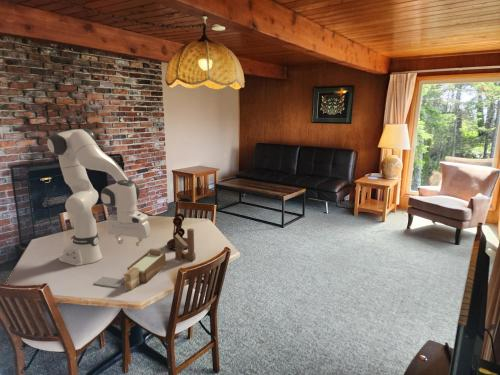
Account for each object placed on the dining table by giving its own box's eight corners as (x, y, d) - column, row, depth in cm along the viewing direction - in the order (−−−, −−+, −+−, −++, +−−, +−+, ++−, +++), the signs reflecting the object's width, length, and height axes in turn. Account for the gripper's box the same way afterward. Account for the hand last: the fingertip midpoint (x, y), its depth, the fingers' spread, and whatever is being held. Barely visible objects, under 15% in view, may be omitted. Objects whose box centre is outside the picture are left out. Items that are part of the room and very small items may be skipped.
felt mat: (93, 284, 166) (93, 283, 166) (102, 277, 173) (102, 276, 173) (117, 288, 163) (117, 287, 163) (126, 281, 170) (126, 280, 170)
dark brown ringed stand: (170, 241, 220) (168, 211, 215) (193, 241, 220) (192, 211, 216) (164, 250, 206) (163, 218, 201) (189, 251, 206) (188, 219, 201)
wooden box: (128, 280, 171) (127, 267, 169) (149, 263, 190) (148, 251, 188) (146, 282, 168) (146, 270, 167) (165, 265, 187) (165, 253, 186)
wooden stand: (177, 256, 198) (176, 226, 194) (195, 258, 196) (195, 228, 192) (175, 259, 195) (174, 229, 190) (193, 261, 192) (192, 230, 188)
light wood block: (124, 289, 162) (123, 273, 161) (133, 282, 169) (132, 267, 167) (131, 290, 162) (130, 274, 160) (139, 283, 168) (138, 268, 166)
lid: (129, 270, 169) (128, 263, 168) (150, 254, 188) (149, 247, 187) (144, 272, 167) (144, 265, 167) (163, 256, 186) (163, 249, 185)
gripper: (103, 216, 157) (105, 244, 160) (143, 220, 152) (145, 249, 155) (111, 212, 163) (113, 239, 166) (151, 216, 158) (152, 244, 161)
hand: (129, 244), depth 160 cm, fingers open, 8 cm apart
